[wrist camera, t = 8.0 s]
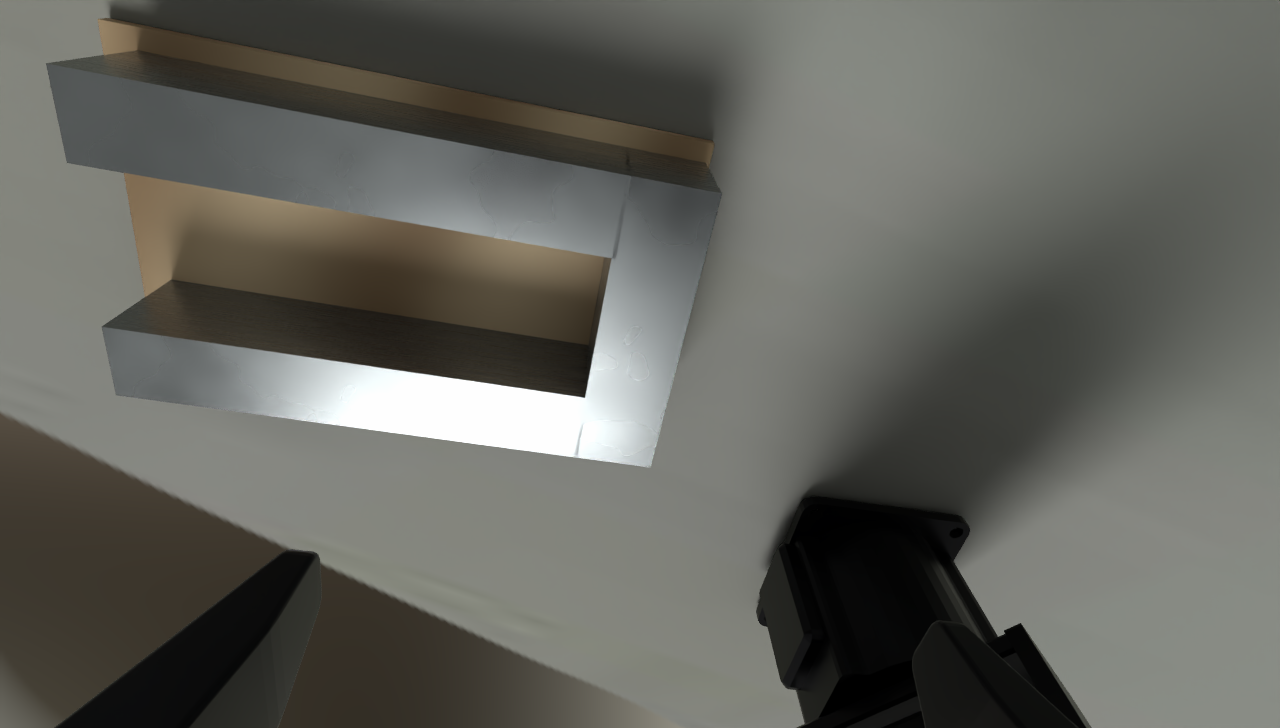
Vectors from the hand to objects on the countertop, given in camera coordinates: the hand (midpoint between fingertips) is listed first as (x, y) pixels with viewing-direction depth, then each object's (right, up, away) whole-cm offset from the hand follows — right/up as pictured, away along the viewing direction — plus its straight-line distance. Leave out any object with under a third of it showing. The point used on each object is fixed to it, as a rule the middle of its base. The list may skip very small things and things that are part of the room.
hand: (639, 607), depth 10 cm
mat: (-6, +7, +10) cm, 13 cm away
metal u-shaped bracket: (-6, +7, +9) cm, 13 cm away
